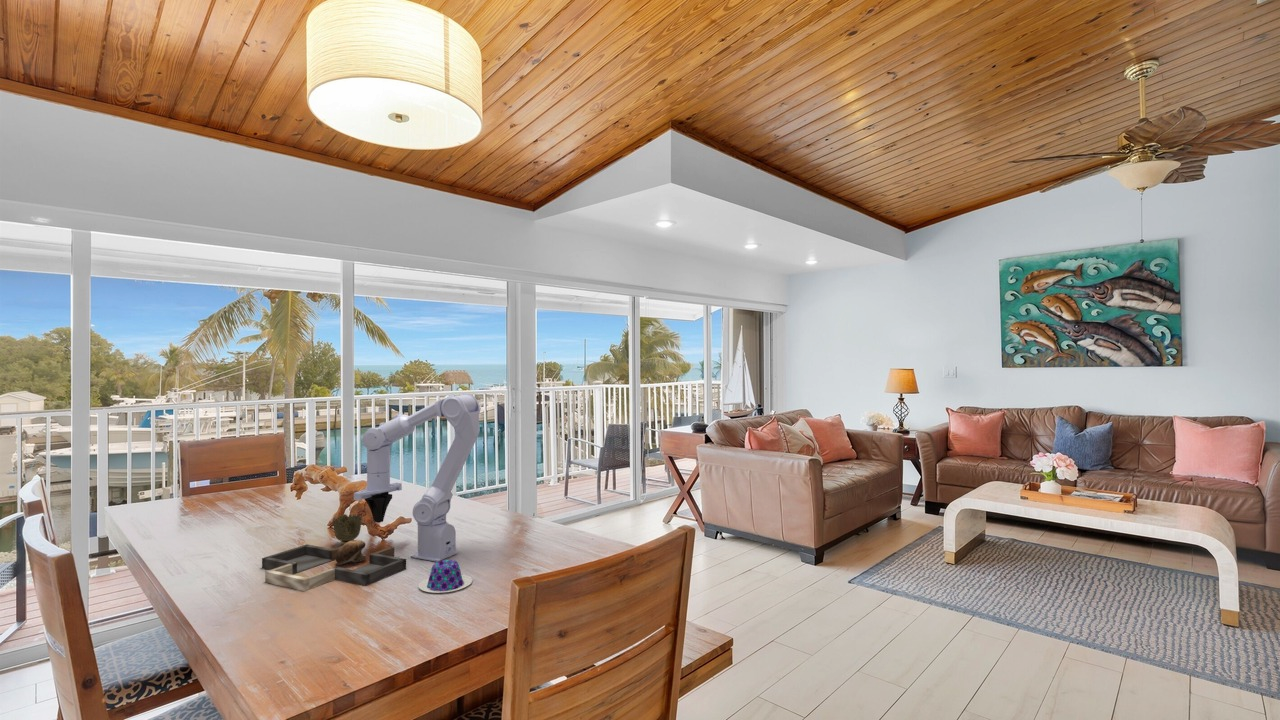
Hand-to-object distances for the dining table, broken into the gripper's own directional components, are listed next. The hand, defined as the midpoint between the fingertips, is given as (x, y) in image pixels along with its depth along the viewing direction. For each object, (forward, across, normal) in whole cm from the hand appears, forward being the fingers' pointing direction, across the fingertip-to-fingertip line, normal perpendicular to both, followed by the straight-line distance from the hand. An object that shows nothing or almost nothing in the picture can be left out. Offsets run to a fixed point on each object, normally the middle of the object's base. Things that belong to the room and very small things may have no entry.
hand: (378, 521), depth 165 cm
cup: (+8, -1, -13) cm, 16 cm away
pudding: (+9, +11, +33) cm, 36 cm away
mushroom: (+9, +9, 0) cm, 12 cm away
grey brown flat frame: (+8, +14, 0) cm, 16 cm away
